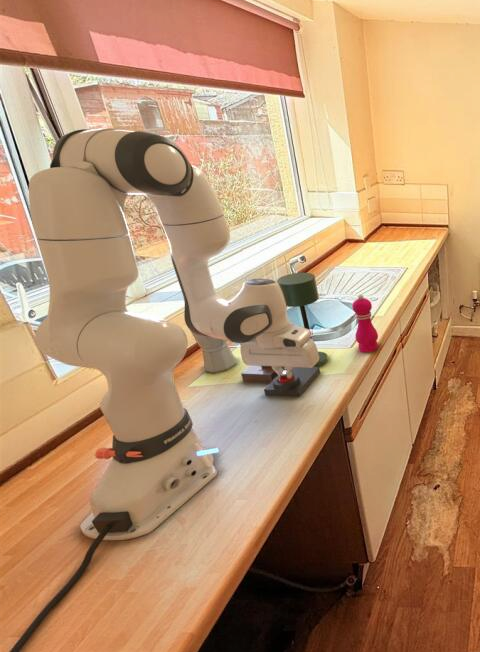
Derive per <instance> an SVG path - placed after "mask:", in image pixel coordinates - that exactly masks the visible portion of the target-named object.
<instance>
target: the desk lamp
mask: <svg viewBox="0 0 480 652" xmlns="http://www.w3.org/2000/svg"><path fill="white" fill-rule="evenodd" d="M316 280H317V279H316V275H315V274H314V273H310V272H295V273H289V274H285V275H283V276H280V277H279V278H277V279H276V282H277V283H278V284H279V286H280V288H281V290H282V292H283V295H284V298H285V302H286V306H287V308H297V307H299V310H300V315H301V320H302V324H303V328H305V329H308V330H310V331H311V328H310V323H309V319H308V314H307V309H306V306H308V305H311V304H314V303H316V302H317V301H319V298H320V296H319V291H318V285H317V281H316ZM310 338H311V339H312V340H313V337H312V336H311V337H310ZM318 354H319V360H318V362H317V363H316V364H315V365H314V366H313V367H319V368H320V367H323V366H324V365H325V364H327V363H328V360H329V358H328V354H327V353H326V352H324V351H318Z"/></svg>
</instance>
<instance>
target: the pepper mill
mask: <svg viewBox="0 0 480 652" xmlns="http://www.w3.org/2000/svg"><path fill="white" fill-rule="evenodd" d="M351 305H352V310H353V312H354V313H355V314H354V315H355V319H357V328H356V331H355V342H356V343H357V344H358V345H357V346H358V351H360V352H361V353H367V354H368V353H372V352H374V351H376V350H377V349H378V347H379V343H378V339H379V334H378V331H377V329H376V328H375V326H374V325H373V323H372V319H371V317H372V308H373V305H372V302H371V301H370V299H368V298H366V297H365V298H364V295H363V294H358V295H357V299H355V300H354V301H353V302H352V304H351Z"/></svg>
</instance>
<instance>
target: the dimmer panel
mask: <svg viewBox="0 0 480 652" xmlns="http://www.w3.org/2000/svg"><path fill="white" fill-rule="evenodd" d="M281 368H282V369H283V370H284V369H285V367H281ZM240 375H241V378H242V382H243V383H258V384H259V383H261V384H270V383H271V382H272V381H273V379H274V378H276V377H277V376H278V374H277V373H276V372H275V371H274V370H273V369H272V366H250V365H248V367H247V368H246V369H245V370H243V371H242V372H241V373H240Z"/></svg>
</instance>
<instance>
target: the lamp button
mask: <svg viewBox="0 0 480 652" xmlns="http://www.w3.org/2000/svg"><path fill="white" fill-rule="evenodd" d="M292 379H293V376H292V377H291V378H290V379H285V378H279V383H286V382H289V381H291V380H292Z"/></svg>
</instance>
